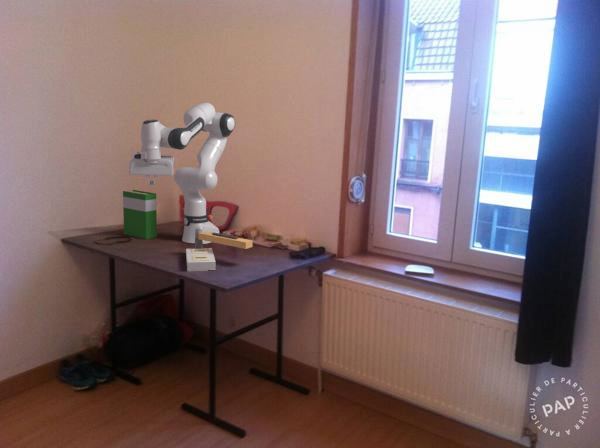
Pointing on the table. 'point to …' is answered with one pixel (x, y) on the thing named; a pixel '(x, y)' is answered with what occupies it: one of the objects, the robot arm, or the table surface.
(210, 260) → the two-drawer filing cabinet
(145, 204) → the hardback book
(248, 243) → the light wooden bar
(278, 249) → the table surface
